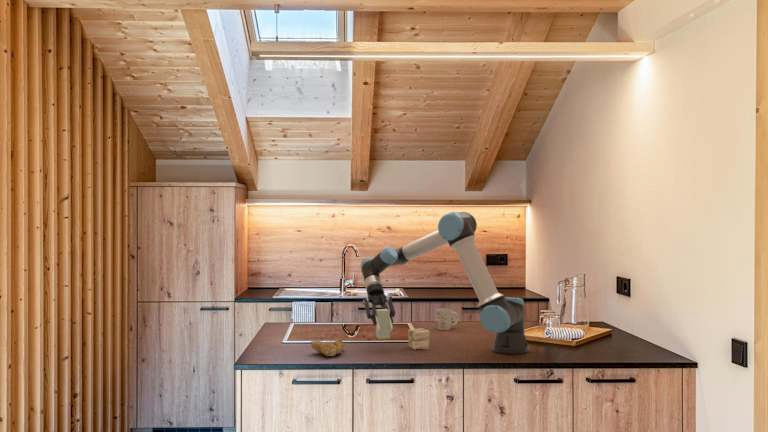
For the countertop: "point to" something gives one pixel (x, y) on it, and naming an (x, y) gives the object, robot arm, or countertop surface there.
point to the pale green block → (383, 323)
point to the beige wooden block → (419, 344)
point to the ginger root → (328, 347)
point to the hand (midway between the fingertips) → (385, 330)
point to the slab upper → (418, 334)
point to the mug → (445, 318)
